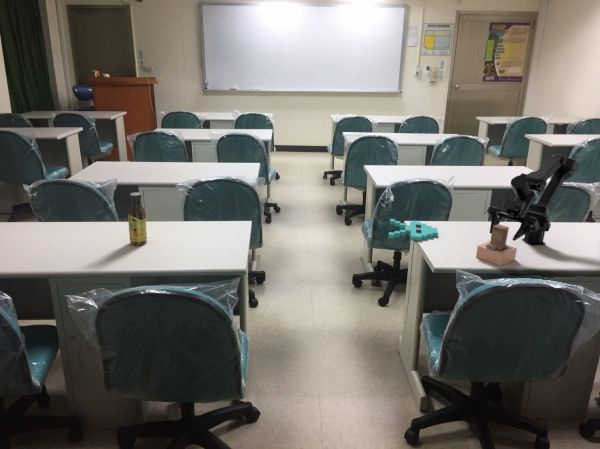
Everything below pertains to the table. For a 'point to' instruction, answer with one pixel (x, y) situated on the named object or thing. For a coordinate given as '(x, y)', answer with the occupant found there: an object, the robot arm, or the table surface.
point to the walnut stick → (499, 237)
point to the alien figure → (413, 230)
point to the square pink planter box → (496, 254)
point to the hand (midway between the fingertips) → (501, 236)
